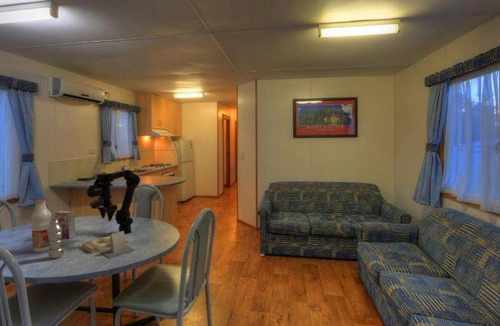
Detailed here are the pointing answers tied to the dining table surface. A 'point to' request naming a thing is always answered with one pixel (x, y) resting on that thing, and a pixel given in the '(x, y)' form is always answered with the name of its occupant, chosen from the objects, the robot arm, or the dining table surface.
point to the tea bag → (118, 242)
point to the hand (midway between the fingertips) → (106, 219)
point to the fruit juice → (40, 226)
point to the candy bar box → (66, 223)
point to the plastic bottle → (55, 239)
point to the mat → (111, 254)
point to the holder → (98, 244)
